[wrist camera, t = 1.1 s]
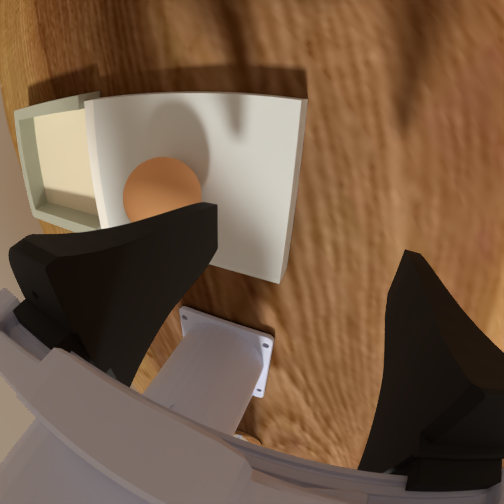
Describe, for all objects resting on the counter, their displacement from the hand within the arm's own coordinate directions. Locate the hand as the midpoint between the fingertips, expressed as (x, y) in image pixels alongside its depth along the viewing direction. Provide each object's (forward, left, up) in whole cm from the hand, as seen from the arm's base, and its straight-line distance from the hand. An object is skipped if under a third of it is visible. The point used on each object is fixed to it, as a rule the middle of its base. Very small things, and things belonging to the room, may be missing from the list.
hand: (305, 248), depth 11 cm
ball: (0, +8, -2) cm, 8 cm away
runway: (0, +9, -5) cm, 10 cm away
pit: (0, +21, -5) cm, 22 cm away
